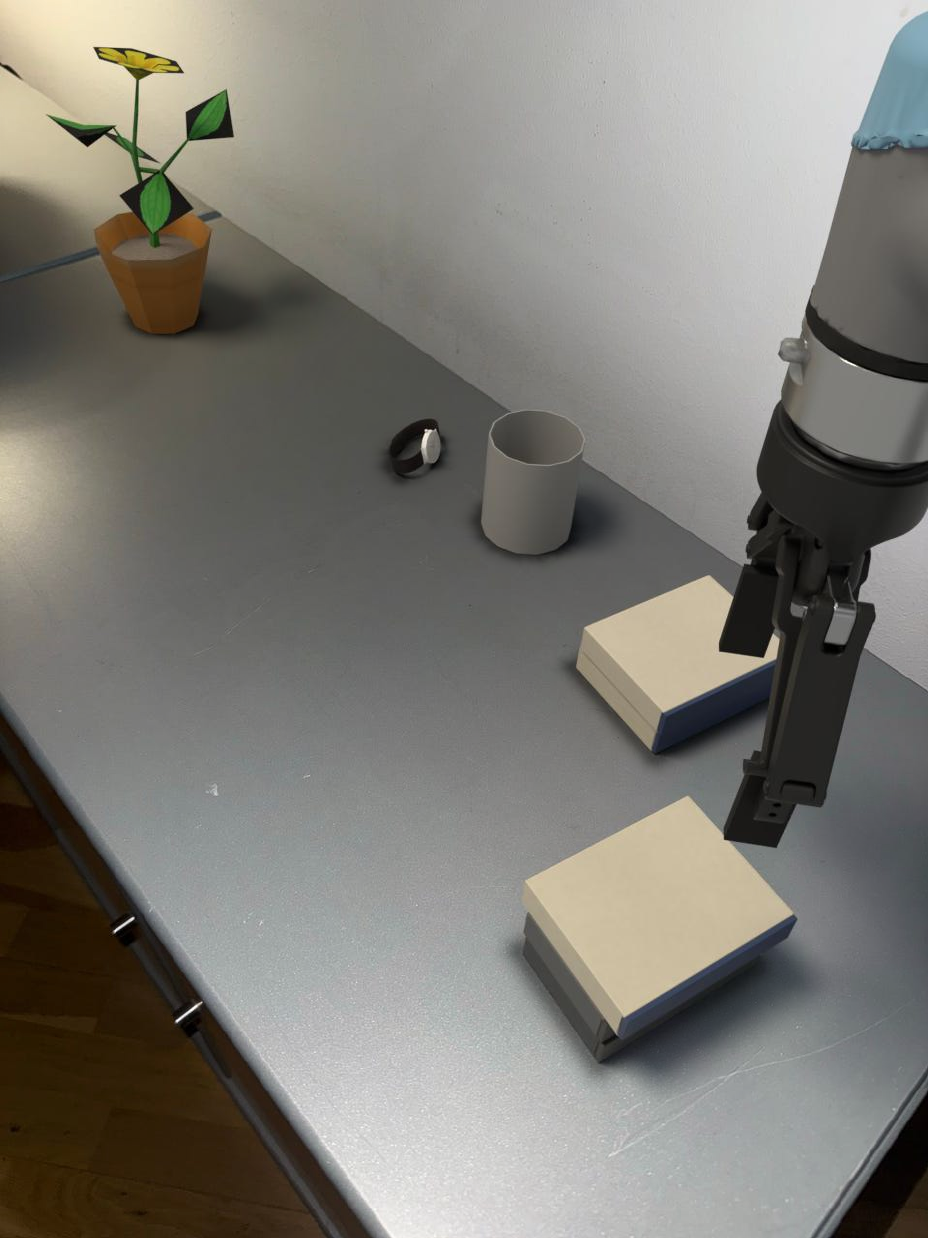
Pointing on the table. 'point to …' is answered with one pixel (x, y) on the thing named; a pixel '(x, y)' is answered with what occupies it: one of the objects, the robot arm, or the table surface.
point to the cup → (531, 481)
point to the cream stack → (673, 664)
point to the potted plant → (156, 213)
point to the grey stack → (580, 1004)
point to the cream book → (656, 914)
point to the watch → (428, 449)
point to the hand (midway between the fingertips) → (744, 737)
